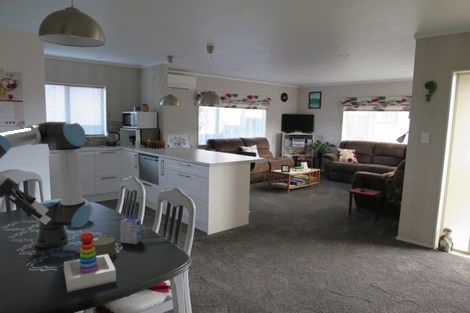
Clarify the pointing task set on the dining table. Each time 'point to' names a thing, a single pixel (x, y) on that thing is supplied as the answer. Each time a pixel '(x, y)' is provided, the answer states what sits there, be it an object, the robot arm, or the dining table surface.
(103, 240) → the can
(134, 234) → the ink cartridge box
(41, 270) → the dining table surface
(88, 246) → the stacking toy
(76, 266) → the walled box
